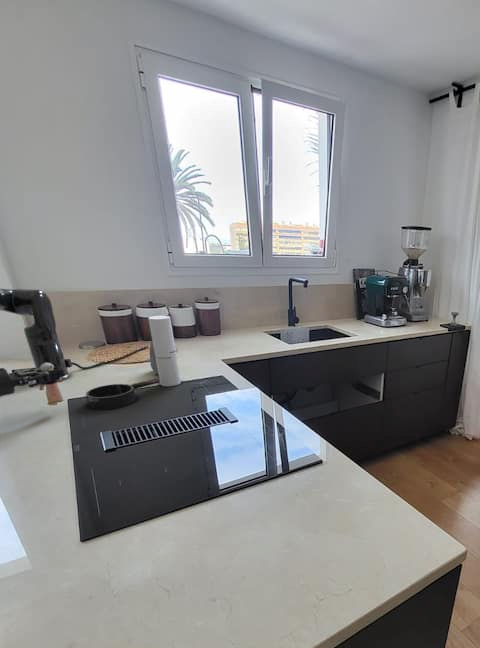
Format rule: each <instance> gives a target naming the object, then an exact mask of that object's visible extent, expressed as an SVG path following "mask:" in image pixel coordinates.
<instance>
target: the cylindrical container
mask: <svg viewBox="0 0 480 648" xmlns="http://www.w3.org/2000/svg"><path fill="white" fill-rule="evenodd" d="M147 320H148V324H149V329H150V336H151V341H153V346H154V352H155V357H156V362H157V368H158V373H159V375H158V379H160V382H159V384H160V386H162V387H174V386H179V385H180V384H181V383H182V381H181V374H180V368H179V363H178V357H177V350H176V344H175V338H174V331H173V326H172V320H171V316H169V315H154V316H153V315H152V316H149V317H148V318H147Z"/></svg>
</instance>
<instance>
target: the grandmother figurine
mask: <svg viewBox="0 0 480 648" xmlns="http://www.w3.org/2000/svg"><path fill="white" fill-rule="evenodd" d="M53 368H54V366H53V365H52V364H50V363H44V364H42V365H41V367H40V369H41V371H43V372H44V371H52V370H53ZM43 378H44V377H43ZM56 380H58V381H56ZM62 382H63V380H61V379H60V377H57V378H52V379H50V382H47V383H44V384H40V385H39V391H44V390H45V395H46V400H47V405H48V406H56V405H57V404H58V403H62V402H64V398H63V394H62V393H61V390H60V388H59V385H58V383H62ZM45 387H46V388H45Z"/></svg>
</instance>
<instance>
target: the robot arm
mask: <svg viewBox="0 0 480 648" xmlns="http://www.w3.org/2000/svg"><path fill="white" fill-rule="evenodd" d="M1 311H2V312H7V313H11V314H15V315H18V316H26V317H33V323H32V324H30V325H27V326H25V327H24V328H23V332H24V335H25V339H26V342H27V344H28V345H27V346H28V348H29V351H30V354H31V357H32V361H33V364H34V367H27V368H17V369H11V370H10V371H11V372H10V373H9V372H8V370H7V369H6V368H4V367H0V397H4V396H10V395H13V394H15V392H16V389H15V388H16V387H22V388H24V387H28V388H35V387H37V386H40V384H44V383H47V382H50V379H52V378H57V377H60V379H61V380H62V381H63V380H67V379H68V378H69V377H70V374H69V370H68V369H69V368H72V367H73V366H76V367H77V368H79V369H81V370H90V369H93V368H97V367H99V366H102V365H106V364H109V363H113V362H117V361H120V360H122V359H124V358H126V357H129V356H131V355H133V354H135V353H137V352H140V351H142V350H145V349H149V346H148V345H146V346H147V347H146V346H143V347H144V348H143V347H140V348H141V349H140V348H138V349H139V350H137V349H135V350H136V351H135V350H133V351H134V352H133V351H131V352H132V353H131V352H129V353H130V354H128V353H126V354H127V355H126V354H124V355H125V356H124V355H122V356H123V357H121V356H119V357H120V358H119V357H116V358H117V359H116V358H113V359H114V360H112V359H110V360H111V361H109V360H106V361H107V362H105V361H102V362H99V363H95V364H93V365H90V366H81V365H80V364H78V363H77V362H73V361H72V360H71V358H65V357H64V353H63V351H62V348H61V344H60V341H59V337H58V334H57V330H56V329H57V328H56V327H57V323H56V318H55V314H54V309H53V304H52V301H51V299H50V297H49V295H48V294H47V293H46V292H45V291H44V290H42V289H33V288H32V289H30V288H29V289H28V288H27V289H25V288H24V289H23V288H17V289H12V288H11V289H10V288H8V289H7V288H0V312H1ZM44 363H50V364H52V365H53V366H54V368H53V370H52V371H44V372H43V371H41V369H40V367H41V365H42V364H44ZM43 377H44V378H43ZM56 381H57V382H58V380H56Z"/></svg>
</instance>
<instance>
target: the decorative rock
mask: <svg viewBox="0 0 480 648" xmlns="http://www.w3.org/2000/svg"><path fill="white" fill-rule="evenodd" d="M149 361H150V367H151V370H152V371H153V373H155V375H156V376H159V373H158V368H157V362H156V357H155V352H154V346H153V341H152V340H151V341H150V345H149Z"/></svg>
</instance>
